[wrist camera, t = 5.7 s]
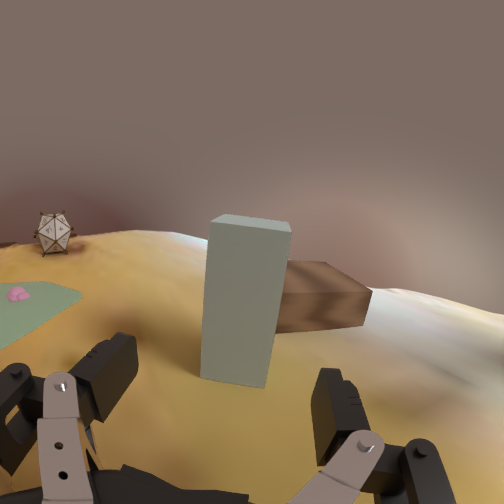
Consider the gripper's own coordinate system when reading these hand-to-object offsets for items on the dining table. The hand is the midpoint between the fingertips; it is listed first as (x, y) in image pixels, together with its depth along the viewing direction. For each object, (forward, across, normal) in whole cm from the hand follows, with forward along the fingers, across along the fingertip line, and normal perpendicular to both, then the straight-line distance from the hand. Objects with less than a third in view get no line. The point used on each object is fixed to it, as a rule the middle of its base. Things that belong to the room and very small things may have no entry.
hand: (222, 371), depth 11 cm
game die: (+28, +38, +7) cm, 47 cm away
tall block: (+10, 0, +7) cm, 12 cm away
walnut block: (+24, -6, +7) cm, 26 cm away
